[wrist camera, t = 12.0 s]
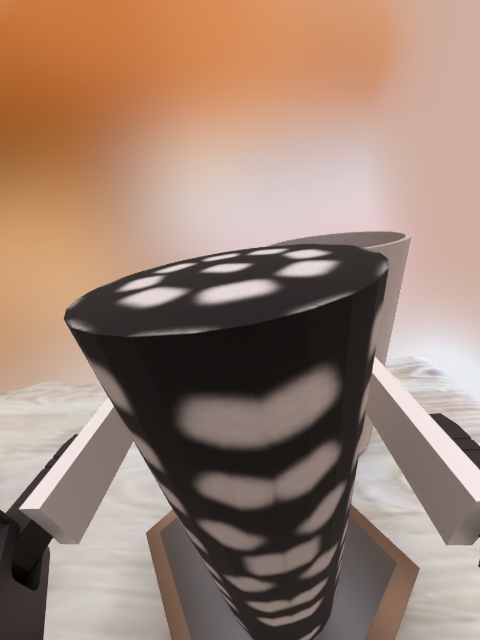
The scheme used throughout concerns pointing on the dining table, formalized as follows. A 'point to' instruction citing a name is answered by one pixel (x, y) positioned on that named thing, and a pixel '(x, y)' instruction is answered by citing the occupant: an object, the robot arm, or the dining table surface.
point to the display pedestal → (350, 603)
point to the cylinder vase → (396, 252)
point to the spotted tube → (248, 410)
